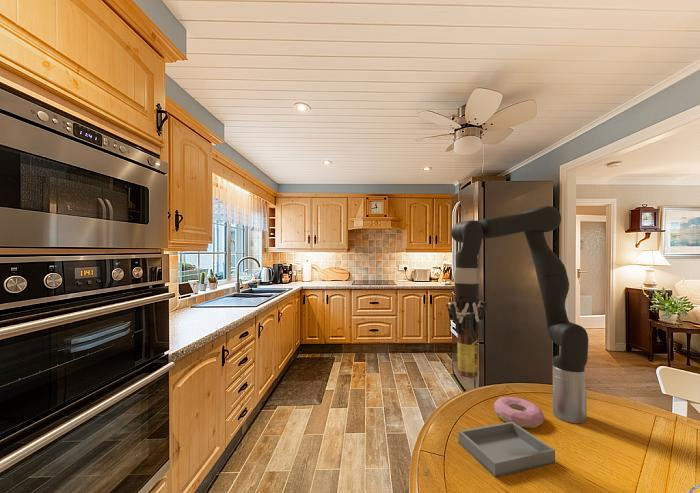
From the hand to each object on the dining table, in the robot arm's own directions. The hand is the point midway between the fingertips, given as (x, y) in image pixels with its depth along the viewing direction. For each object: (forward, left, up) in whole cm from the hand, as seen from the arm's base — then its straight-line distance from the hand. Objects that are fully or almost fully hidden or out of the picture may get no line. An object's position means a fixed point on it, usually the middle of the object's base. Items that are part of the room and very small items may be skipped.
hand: (466, 333), depth 101 cm
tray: (-3, +13, -31) cm, 34 cm away
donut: (-22, -1, -32) cm, 38 cm away
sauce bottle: (0, 0, -14) cm, 14 cm away
